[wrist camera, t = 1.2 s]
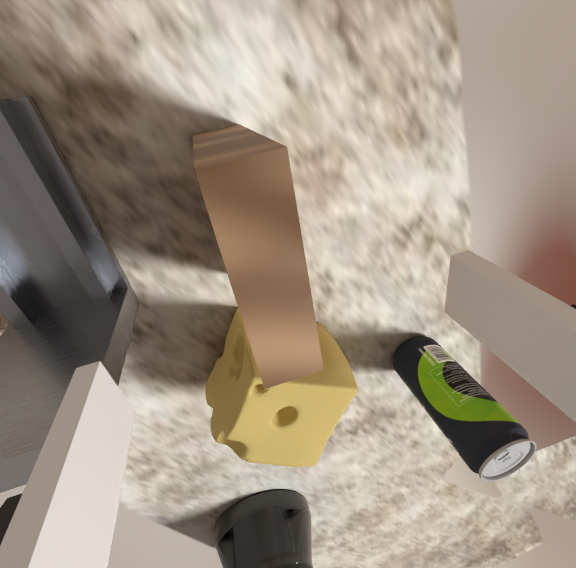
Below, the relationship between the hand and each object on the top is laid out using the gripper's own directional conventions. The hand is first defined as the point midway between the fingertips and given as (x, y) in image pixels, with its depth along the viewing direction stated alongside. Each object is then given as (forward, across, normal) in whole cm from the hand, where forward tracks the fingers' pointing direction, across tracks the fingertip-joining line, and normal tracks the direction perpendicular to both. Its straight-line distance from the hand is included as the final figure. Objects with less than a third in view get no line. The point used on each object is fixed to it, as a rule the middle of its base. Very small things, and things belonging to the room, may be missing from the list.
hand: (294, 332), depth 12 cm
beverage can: (+17, -17, +24) cm, 34 cm away
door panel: (+17, 0, 0) cm, 17 cm away
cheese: (+17, +1, +16) cm, 24 cm away
